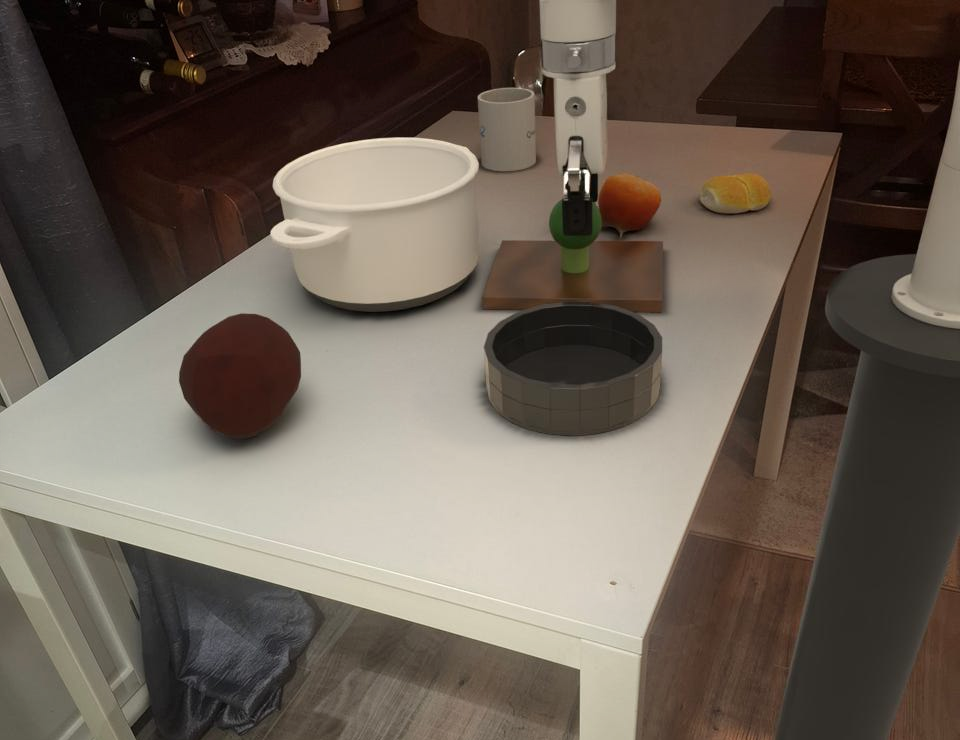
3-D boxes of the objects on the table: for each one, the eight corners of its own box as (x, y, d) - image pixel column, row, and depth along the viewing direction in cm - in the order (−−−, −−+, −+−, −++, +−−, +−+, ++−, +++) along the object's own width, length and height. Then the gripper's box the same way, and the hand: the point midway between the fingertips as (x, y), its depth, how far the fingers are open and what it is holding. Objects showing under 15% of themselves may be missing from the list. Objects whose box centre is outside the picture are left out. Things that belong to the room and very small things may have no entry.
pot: (391, 364, 93) (373, 238, 84) (226, 321, 103) (195, 205, 94) (538, 244, 115) (535, 135, 106) (390, 219, 125) (377, 117, 116)
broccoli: (602, 257, 107) (603, 187, 102) (599, 279, 102) (600, 206, 97) (552, 257, 108) (551, 187, 103) (547, 278, 103) (545, 206, 98)
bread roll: (780, 207, 119) (785, 178, 117) (720, 219, 117) (723, 189, 115) (747, 188, 125) (751, 159, 123) (690, 199, 124) (692, 170, 121)
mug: (525, 173, 136) (523, 104, 130) (473, 169, 139) (469, 102, 133) (550, 147, 145) (549, 82, 139) (501, 144, 148) (498, 80, 142)
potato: (317, 381, 91) (298, 287, 85) (303, 457, 80) (280, 356, 74) (209, 389, 91) (182, 296, 85) (180, 466, 80) (147, 366, 74)
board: (662, 252, 110) (663, 240, 109) (661, 312, 98) (662, 300, 97) (502, 251, 114) (501, 240, 113) (482, 309, 101) (481, 297, 100)
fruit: (574, 222, 116) (596, 160, 114) (608, 236, 122) (630, 177, 120) (621, 237, 111) (645, 173, 109) (654, 251, 117) (678, 191, 115)
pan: (659, 347, 92) (662, 302, 89) (658, 439, 79) (662, 391, 76) (500, 343, 95) (498, 300, 92) (474, 432, 82) (471, 385, 79)
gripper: (611, 74, 83) (610, 248, 94) (619, 33, 97) (617, 189, 107) (531, 78, 85) (539, 249, 95) (550, 37, 98) (555, 191, 108)
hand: (581, 217), depth 101 cm, fingers open, 9 cm apart
